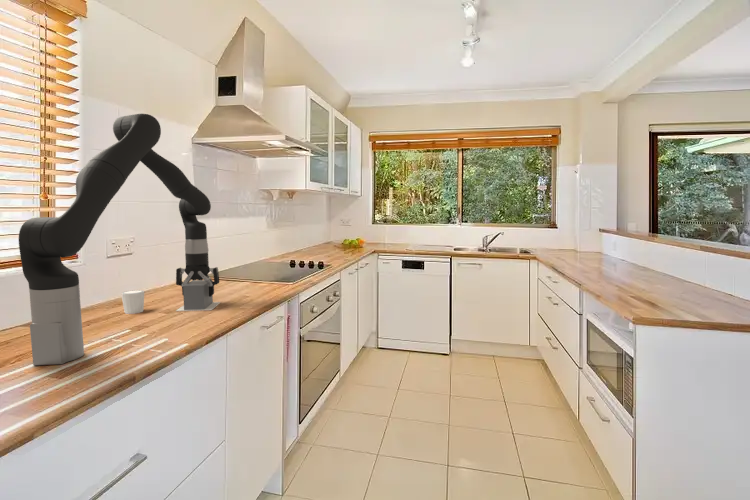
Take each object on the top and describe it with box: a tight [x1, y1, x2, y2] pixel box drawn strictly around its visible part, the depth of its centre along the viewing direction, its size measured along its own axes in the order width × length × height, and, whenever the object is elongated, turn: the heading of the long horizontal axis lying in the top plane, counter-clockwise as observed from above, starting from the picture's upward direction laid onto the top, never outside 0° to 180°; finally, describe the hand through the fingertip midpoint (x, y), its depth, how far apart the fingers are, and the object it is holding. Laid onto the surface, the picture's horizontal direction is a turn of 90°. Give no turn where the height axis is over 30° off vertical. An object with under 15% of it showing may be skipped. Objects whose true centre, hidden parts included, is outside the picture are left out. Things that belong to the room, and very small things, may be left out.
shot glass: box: [121, 289, 145, 315], centre depth 141 cm, size 7×7×7 cm
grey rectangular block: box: [182, 279, 214, 311], centre depth 149 cm, size 11×7×9 cm, turn 7°
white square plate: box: [175, 301, 221, 312], centre depth 149 cm, size 12×12×1 cm
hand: (198, 296), depth 149 cm, fingers open, 8 cm apart
